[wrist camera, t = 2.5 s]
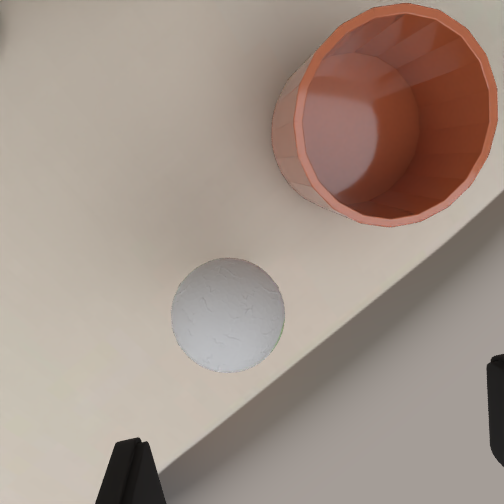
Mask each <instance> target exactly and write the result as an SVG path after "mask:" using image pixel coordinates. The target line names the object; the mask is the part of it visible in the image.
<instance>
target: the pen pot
mask: <svg viewBox="0 0 504 504" xmlns="http://www.w3.org/2000/svg"><path fill="white" fill-rule="evenodd" d="M497 122H498V105H497V86H496V83H495V79H494V76H493V73H492V70H491V67H490V64H489V61H488V58H487V56H486V53H485V52H484V51H483V49H482V48H481V47H480V45H479V44H478V42H477V41H476V40H475V38H474V37H473V36H472V34H471V33H470V31H469V30H468V29H467V28H466V27H464V26H463V25H461V24H460V23H458V22H457V21H455V20H454V19H452V18H451V17H449V16H448V15H446V14H445V13H443V12H442V11H440V10H437V9H433V8H428V7H424V6H419V5H415V4H410V3H401V4H394V5H387V6H381V7H374V8H371V9H369V10H367V11H365V12H363V13H362V14H360V15H358V16H356V17H354V18H352V19H350V20H349V21H347V22H345V23H343V24H341V25H340V26H339V27H338V28H337V29H336V30H335V31H334V32H333V33H332V34H331V35H330V36H329V37H328V38H327V39H326V40H325V41H324V43H323V44H322V45H321V46H320V47H319V48H318V49H317V50H316V51H315V52H314V53H313V54H312V55H311V56H310V57H309V58H308V59H307V60H306V61H305V62H304V63H303V64H302V65H301V66H300V67H299V69H298V70H297V71H296V72H295V73H294V74H293V75H292V76H291V77H290V78H289V79H288V81H287V82H286V84H285V86H284V88H283V90H282V91H281V93H280V96H279V98H278V100H277V103H276V106H275V109H274V113H273V119H272V128H271V138H272V147H273V152H274V156H275V159H276V162H277V165H278V167H279V169H280V171H281V173H282V175H283V176H284V178H285V179H286V181H287V182H288V183H289V184H290V186H291V187H292V188H293V189H294V190H295V191H296V192H297V193H299V194H300V195H301V196H302V197H303V198H304V199H306V200H308V201H310V202H312V203H314V204H316V205H318V206H320V207H322V208H324V209H327V210H329V211H332V212H334V213H336V214H339V215H341V216H344V217H346V218H349V219H351V220H354V221H356V222H359V223H361V224H369V225H376V226H383V227H396V226H401V225H406V224H412V223H417V222H420V221H423V220H425V219H427V218H429V217H431V216H432V215H434V214H436V213H438V212H440V211H442V210H444V209H446V208H447V207H449V206H450V205H451V204H452V203H453V202H454V201H455V200H456V199H457V198H458V197H459V196H460V195H461V194H462V193H463V192H464V191H465V190H466V189H467V188H469V187H470V186H471V184H472V183H473V181H474V180H475V178H476V176H477V175H478V173H479V171H480V169H481V168H482V166H483V164H484V163H485V161H486V159H487V157H488V155H489V153H490V149H491V145H492V141H493V138H494V134H495V130H496V126H497Z"/></svg>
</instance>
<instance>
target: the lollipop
mask: <svg viewBox="0 0 504 504" xmlns="http://www.w3.org/2000/svg"><path fill="white" fill-rule="evenodd" d="M171 319H172V328H173V333H174V335H175V337H176V340H177V342H178V345H179V346H180V347H181V349H182V350H183V351H184V352H185V354H186V355H187V356H188V357H189V358H190V359H192V360H193V361H194V362H196V363H197V364H199V365H200V366H202V367H204V368H206V369H209V370H212V371H215V372H224V373H231V372H240V371H244V370H246V369H249V368H251V367H253V366H255V365H257V364H259V363H260V362H261V361H263V360H264V359H265V358H266V357H267V356H268V355H269V354H270V353H271V352H272V351H273V349H274V348H275V346H276V345H277V343H278V341H279V339H280V337H281V334H282V331H283V327H284V321H285V309H284V302H283V299H282V296H281V293H280V291H279V288H278V286H277V284H276V283H275V282H274V281H273V280H272V278H271V277H270V276H269V275H268V274H267V273H266V272H265V271H264V270H262V269H261V268H260V267H259V266H256V265H255V264H253V263H250V262H248V261H245V260H241V259H235V258H221V259H215V260H212V261H209V262H207V263H205V264H203V265H200V266H199V267H197V268H196V269H194V270H193V271H192V272H191V273H189V274H188V276H187V277H186V278H185V279H184V280H183V281H182V283H181V284H180V285H179V287H178V290H177V292H176V294H175V296H174V299H173V304H172V311H171Z"/></svg>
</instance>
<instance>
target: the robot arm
mask: <svg viewBox="0 0 504 504" xmlns="http://www.w3.org/2000/svg"><path fill="white" fill-rule="evenodd" d="M487 389H488V411H489V431H490V447H491V450H492V453H493V455H494V456H495V458H496V459H497V460H498V462H499V463H501V464H502V466H503V467H504V354H501V355H496V356H494V357H492V359H491V363H489V364H487ZM95 504H166V501H165V498H164V494H163V491H162V487H161V484H160V480H159V477H158V473H157V470H156V466H155V463H154V459H153V456H152V452H151V449H150V446H149V443H148V442H147V441H146V442H141V439H140V438H138V437H137V438H133V439H128V440H124V441H120V442H117V443H116V444H115V446H114V449H113V452H112V455H111V458H110V461H109V464H108V467H107V470H106V473H105V476H104V479H103V482H102V485H101V488H100V491H99V494H98V497H97V500H96V503H95Z"/></svg>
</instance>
